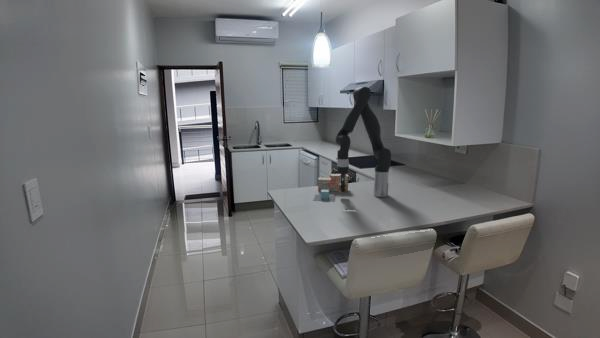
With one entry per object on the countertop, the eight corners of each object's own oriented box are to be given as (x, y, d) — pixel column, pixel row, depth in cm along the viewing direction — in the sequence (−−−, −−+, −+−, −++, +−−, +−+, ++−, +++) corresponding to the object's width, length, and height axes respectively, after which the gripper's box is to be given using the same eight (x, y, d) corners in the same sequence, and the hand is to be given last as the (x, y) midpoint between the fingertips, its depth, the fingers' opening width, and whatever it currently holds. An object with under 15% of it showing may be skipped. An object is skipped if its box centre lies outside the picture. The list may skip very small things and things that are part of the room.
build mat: (336, 196, 222) (336, 195, 221) (334, 203, 208) (334, 201, 208) (315, 195, 224) (315, 194, 223) (313, 202, 210) (313, 200, 210)
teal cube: (328, 197, 218) (329, 189, 217) (328, 199, 213) (328, 191, 212) (321, 196, 218) (321, 189, 217) (320, 199, 214) (320, 191, 213)
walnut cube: (346, 190, 218) (346, 183, 217) (346, 192, 213) (346, 185, 212) (339, 190, 219) (339, 183, 217) (339, 192, 214) (339, 185, 213)
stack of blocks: (317, 192, 233) (318, 175, 231) (318, 189, 239) (318, 173, 237) (348, 193, 231) (348, 176, 229) (347, 190, 237) (348, 174, 235)
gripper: (348, 167, 205) (348, 193, 208) (348, 163, 218) (348, 187, 222) (336, 167, 206) (336, 193, 209) (337, 163, 219) (337, 187, 223)
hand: (343, 190), depth 216 cm, fingers closed on walnut cube, 5 cm apart
